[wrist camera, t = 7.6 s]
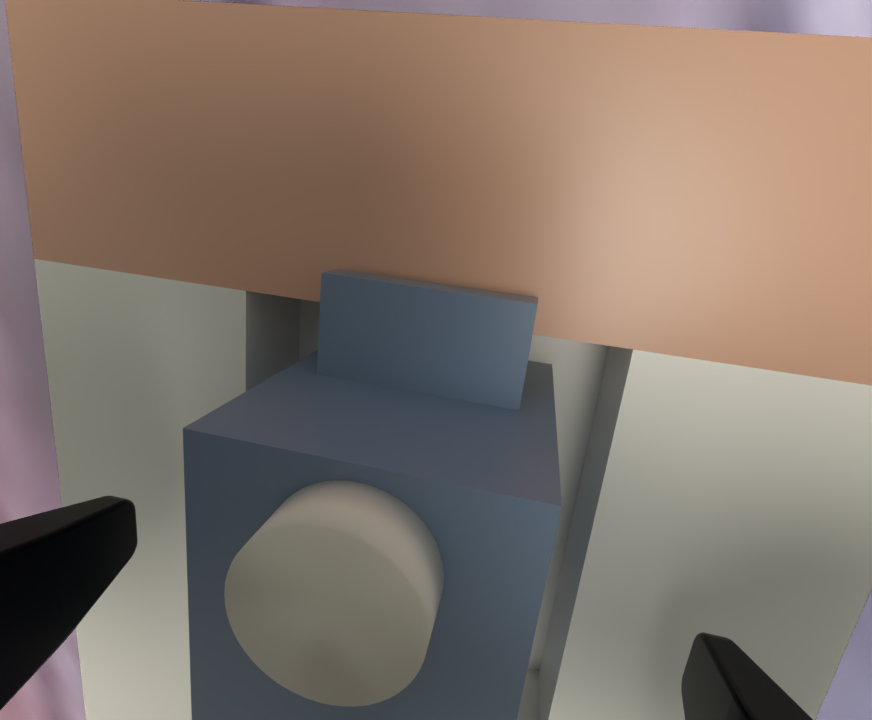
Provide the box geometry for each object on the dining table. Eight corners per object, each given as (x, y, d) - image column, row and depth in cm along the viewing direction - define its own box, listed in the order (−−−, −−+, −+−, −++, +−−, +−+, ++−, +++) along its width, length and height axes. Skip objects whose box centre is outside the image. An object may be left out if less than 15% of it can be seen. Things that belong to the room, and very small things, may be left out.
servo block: (493, 675, 12) (451, 1077, 6) (329, 632, 12) (159, 962, 7) (567, 284, 9) (603, 382, 4) (354, 255, 10) (114, 301, 4)
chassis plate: (672, 801, 13) (710, 967, 10) (175, 661, 15) (91, 763, 12) (911, 107, 8) (1101, 50, 5) (148, 52, 11) (3, -10, 8)
